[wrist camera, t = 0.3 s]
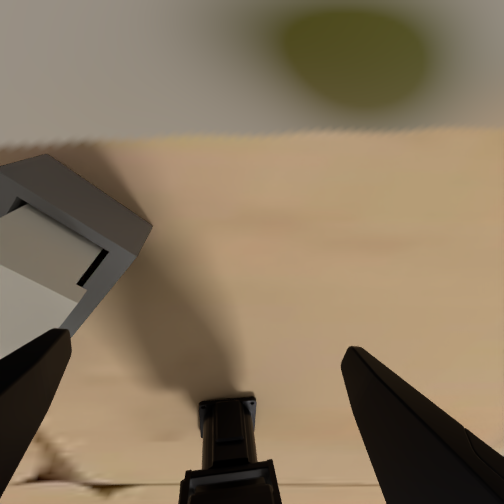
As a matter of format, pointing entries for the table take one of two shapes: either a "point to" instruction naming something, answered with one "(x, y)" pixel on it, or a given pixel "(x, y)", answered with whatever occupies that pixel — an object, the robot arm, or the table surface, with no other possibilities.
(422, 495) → the robot arm
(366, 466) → the table surface
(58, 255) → the key one dot
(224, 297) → the table surface
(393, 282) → the table surface
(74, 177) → the key console
